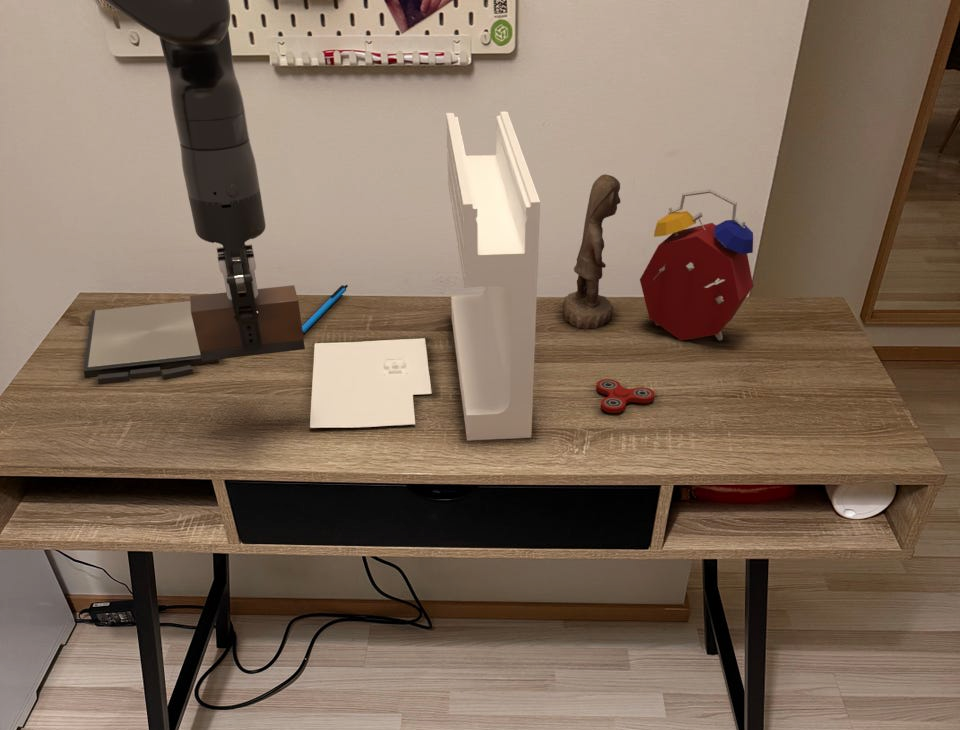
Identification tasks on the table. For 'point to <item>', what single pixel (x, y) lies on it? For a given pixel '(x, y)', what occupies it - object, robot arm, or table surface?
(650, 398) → the fidget spinner
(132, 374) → the stroke
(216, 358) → the eraser
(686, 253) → the alarm clock
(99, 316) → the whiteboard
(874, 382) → the table surface
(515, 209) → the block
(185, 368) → the stroke
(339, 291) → the pen
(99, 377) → the stroke
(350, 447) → the table surface
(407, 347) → the paper
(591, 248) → the figurine
